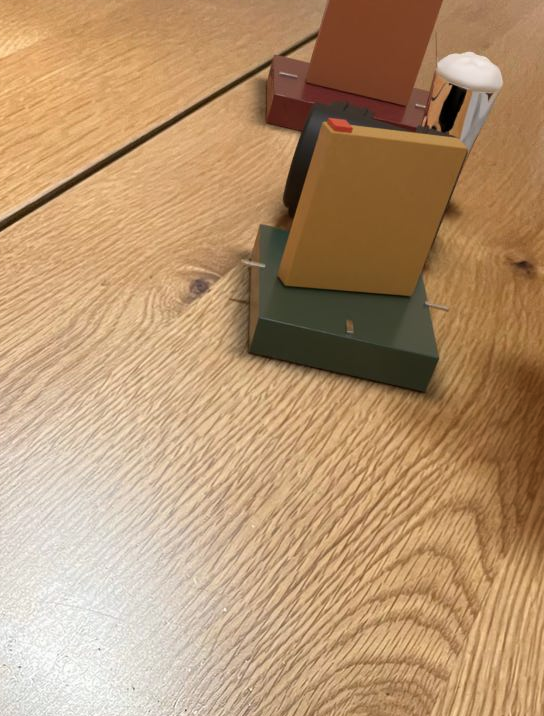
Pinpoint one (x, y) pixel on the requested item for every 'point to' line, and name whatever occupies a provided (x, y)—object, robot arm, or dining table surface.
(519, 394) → the dining table surface
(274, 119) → the dark red base box
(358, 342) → the green pinned base
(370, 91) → the upright brown plank
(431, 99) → the milkshake
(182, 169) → the dining table surface
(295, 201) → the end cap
